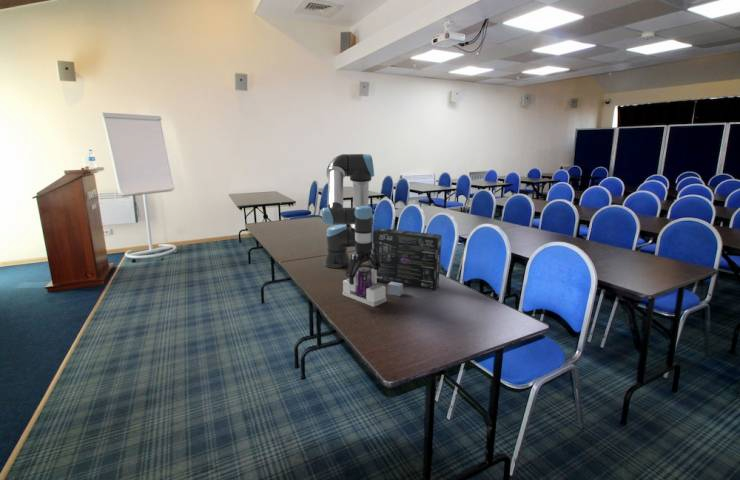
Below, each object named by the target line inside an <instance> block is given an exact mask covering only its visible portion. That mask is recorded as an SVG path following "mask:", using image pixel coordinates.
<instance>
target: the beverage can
mask: <svg viewBox="0 0 740 480" xmlns="http://www.w3.org/2000/svg"><path fill="white" fill-rule="evenodd" d="M371 269H372V268H370V267H368V266H360V267H359V269H358V270H357V272H356V274H355V277H356V293H357V294H358V295H360V296H366V289H367V288H370V287H372V286H373V284H372V272H371Z"/></svg>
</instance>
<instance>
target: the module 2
mask: <svg viewBox="0 0 740 480" xmlns="http://www.w3.org/2000/svg"><path fill="white" fill-rule="evenodd" d="M386 295H387V294H386V286H385V285H382V284H380V283H379V284H374V285H372V287H370V288H367V289H366V300H369V301H372V302H376V301H378V300H380V299H383V298H385V297H386ZM386 298H387V297H386Z"/></svg>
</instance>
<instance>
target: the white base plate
mask: <svg viewBox="0 0 740 480" xmlns="http://www.w3.org/2000/svg"><path fill="white" fill-rule="evenodd" d="M342 296H345V297H347V298H350V299H353V300H355V301H357V302H360V303H364V304H365V305H369V306H370V307H373V308H375V307H377V306H379V305H382V304H383V303H386V302H387V297H385V298H383V299H380V300H378V301H376V302H372V301H369V300H366V296H360V295H358V294H357V293H356V291H355V292H352V293H348V292H345V291H343V290H342Z"/></svg>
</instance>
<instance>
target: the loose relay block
mask: <svg viewBox="0 0 740 480" xmlns="http://www.w3.org/2000/svg"><path fill="white" fill-rule="evenodd" d="M403 294H404V285H403V284H402V283H397V282H390V283H387V295H390V296H395V297H401V296H402V295H403Z"/></svg>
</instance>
